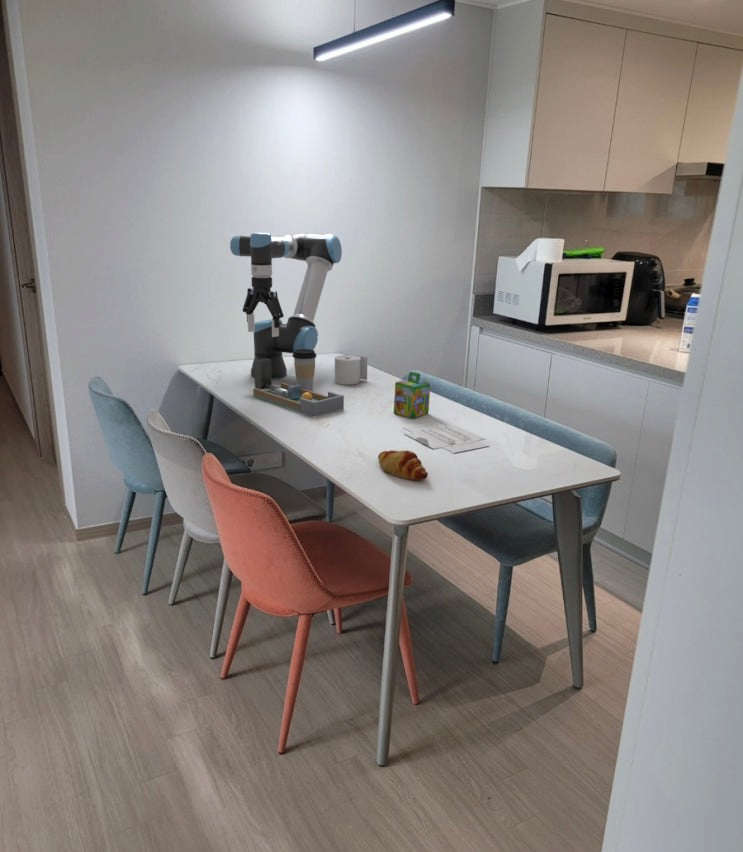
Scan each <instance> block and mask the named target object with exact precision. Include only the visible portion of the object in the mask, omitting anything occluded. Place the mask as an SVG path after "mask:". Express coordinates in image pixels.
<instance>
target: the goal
mask: <svg viewBox="0 0 743 852" xmlns="http://www.w3.org/2000/svg"><path fill="white" fill-rule="evenodd" d="M327 396H328V399H324V400H320V401H316V402H313V401H310V400H307V399H304V398H300V405H301V407H300V410H301V411H300V412H299V413H301V414H304V415H306V416H310V415H311V417H313V416H315V417H319V416H323V415H326V414H327V415H328V414H331V413H334V412H338V411H339V412H340V411H343V410H344V408H345V404H344V403H345V401H344V400H345V398H344V397H345V395H343V394H339V393H335V392H333V391H327Z"/></svg>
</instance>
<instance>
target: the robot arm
mask: <svg viewBox="0 0 743 852" xmlns="http://www.w3.org/2000/svg"><path fill="white" fill-rule="evenodd" d="M229 247H230V248H229V249H230V251H231V254H232V255H234V256H236V257H237V256H238V257H247V258H248V257H250V261H251V262H250V265H251V266H250V270H251V271H250V272H251V274H250V275H251V287H249V288H247V291H246V292H247V293H246V297H245V300H244V304H243V307H242V312H243V313H245V314H246V323H247V332H248V333H251V332H253V334H252V335H253V346H254V347H253V348H254V349H253V350H254V353H253V354H254V358H253V361H252V363H251V364H252V365H251V369H250V376H251V377H253V378H255V374H254V360H257V359H262V358H266V359H270V360H271V380H272V379H274V380H275V379H279V378H284V377H286V376H287V375H288V372H287V371H288V369H287V366H286V363H285V361H284V358H283V353H285V354H293V353H294V351H295V350H299V349H310V350H314V351H315V349H316V346H317V344H318V341H319V340H318V339H319V337H318V336H319V332H318V330H317V328H316V327H317V326H316V324H315V322H314V320H315V316H316V314H317V311H318V310H317V309H318V306H319V303H320V299H321V296H322V293H323V289H324V286H325V282H326V278H327V275H328V272H329V271H332V270H333V267H334V264H338V263H340V262H341V259H342V253H343V251H342V244H341V241H340V239H339V237H338V236H337V235H335V234H331V233H330V234H329V233H326V234H324V233H307V232H304V233H303V232H302V233H294V234H284V235H282V236H272V234H271V233H269V232H252V233H251V234H250V235H234V236H233V237H232V238H231V239H230V243H229ZM281 258H285V259H291V260H293V259H294V260H298V261H301V262H302V261H303V262H305V263H306V264H307V267H306V270H305V271H306V272H305V273H304V278H303V281H302V285H301V288H300V291H299V293H298V298H297V302H296V305H295V308H294V311H293V314H292V315H291V316H289V317H288V318H287V323H283V321H282V318H284V313H283V310H282V307H281V303H280V300H279V297H278V292H277V290H274V291H272V290H271V289H272V287H273V278H272V275H273V264H272V263H273V262H272V261H273V259H281ZM259 303H263V304H264V305H266V307H267V310H268V311H269V313H270V315H271V317H272V318H271V319H263V320H259V321H255V314H254V312H255V310H256V308H257V306H258V305H259Z"/></svg>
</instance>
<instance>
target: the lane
mask: <svg viewBox="0 0 743 852" xmlns="http://www.w3.org/2000/svg"><path fill="white" fill-rule="evenodd" d="M279 386H280V387H279V388H281V389H285V390H287V387H288V386H293V385H292V384H288V383H286V382H280V385H279ZM305 392H309V393H310V394H311V395H312V401H313V402H316V401H320V400H324V399H328V395H325V394H321V393H319V392H315V391H312V390H305V389H302V394H303V393H305ZM252 396H253V397H254V398H258V399H261V400H264V401H265V402H268V403H272V404H275V405H277V406H281V407H283V408H286V409H289V410H293V411H296V412H299V413H301V412H300V411H301V410H300V407H301V405H300V398H297V399H293V400H290V399H288V395H285V391H283V390H279V391H278V392H275V391H272V390H269V389H267V390H260V389H257V388H255V387H254V388H253V389H252Z"/></svg>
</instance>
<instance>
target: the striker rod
mask: <svg viewBox="0 0 743 852" xmlns="http://www.w3.org/2000/svg"><path fill="white" fill-rule="evenodd" d="M253 361H254V374H255V377H254V388H256V389H259V390H262V391H264V390H272V391H275V392H278V391H279V390H283V391H285V395H288V399H290V400H293V399H297V398H301V397H302V386H301V385H299V384H297V383H296V384H293V385H292V386H288V387H287V390H285V389H281V388H280V387H277V386H274V385H273V384H272V382H273V381H272V379H271V360H270V359H266V358H262V359H257V360H254V359H253Z"/></svg>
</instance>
